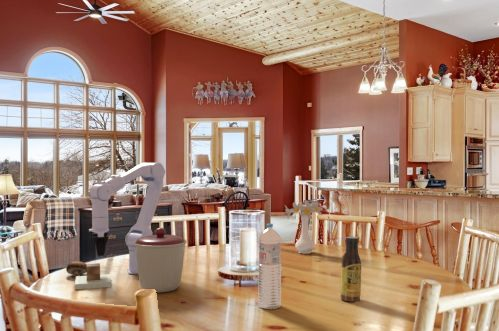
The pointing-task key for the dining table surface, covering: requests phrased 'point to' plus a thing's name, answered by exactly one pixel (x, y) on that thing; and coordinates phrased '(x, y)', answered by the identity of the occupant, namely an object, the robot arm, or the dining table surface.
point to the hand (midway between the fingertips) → (100, 253)
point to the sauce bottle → (351, 271)
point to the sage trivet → (92, 282)
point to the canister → (160, 260)
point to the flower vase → (304, 224)
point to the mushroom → (76, 268)
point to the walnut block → (93, 271)
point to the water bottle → (269, 269)
